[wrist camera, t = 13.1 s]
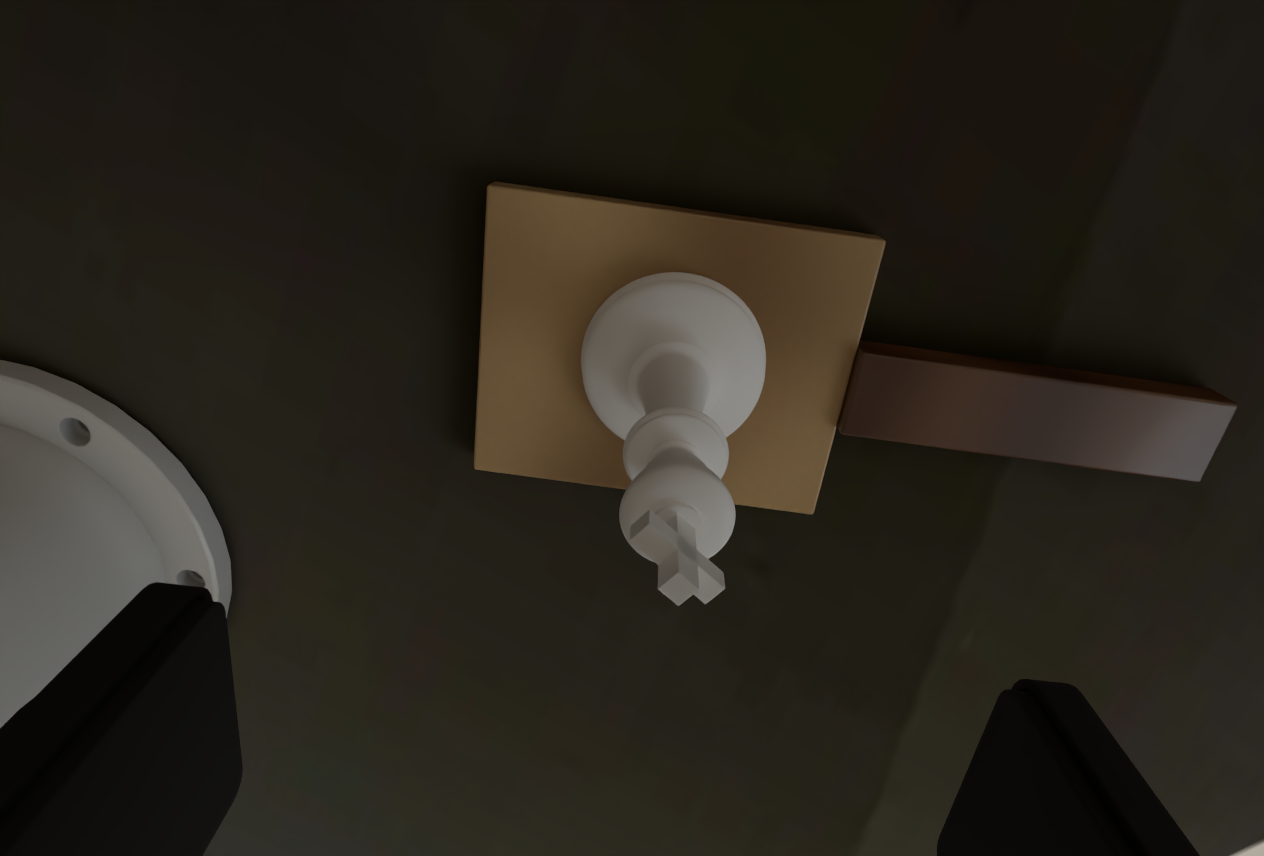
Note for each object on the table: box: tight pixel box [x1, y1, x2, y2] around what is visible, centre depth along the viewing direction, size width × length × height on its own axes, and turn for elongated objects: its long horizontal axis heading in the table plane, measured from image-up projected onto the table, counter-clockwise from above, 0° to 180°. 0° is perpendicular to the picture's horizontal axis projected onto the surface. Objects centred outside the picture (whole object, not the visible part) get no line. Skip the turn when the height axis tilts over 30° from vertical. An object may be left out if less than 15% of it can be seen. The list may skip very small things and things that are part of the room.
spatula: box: [474, 182, 1238, 514], centre depth 21 cm, size 20×8×1 cm, turn 83°
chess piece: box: [581, 272, 766, 606], centre depth 16 cm, size 5×5×10 cm
